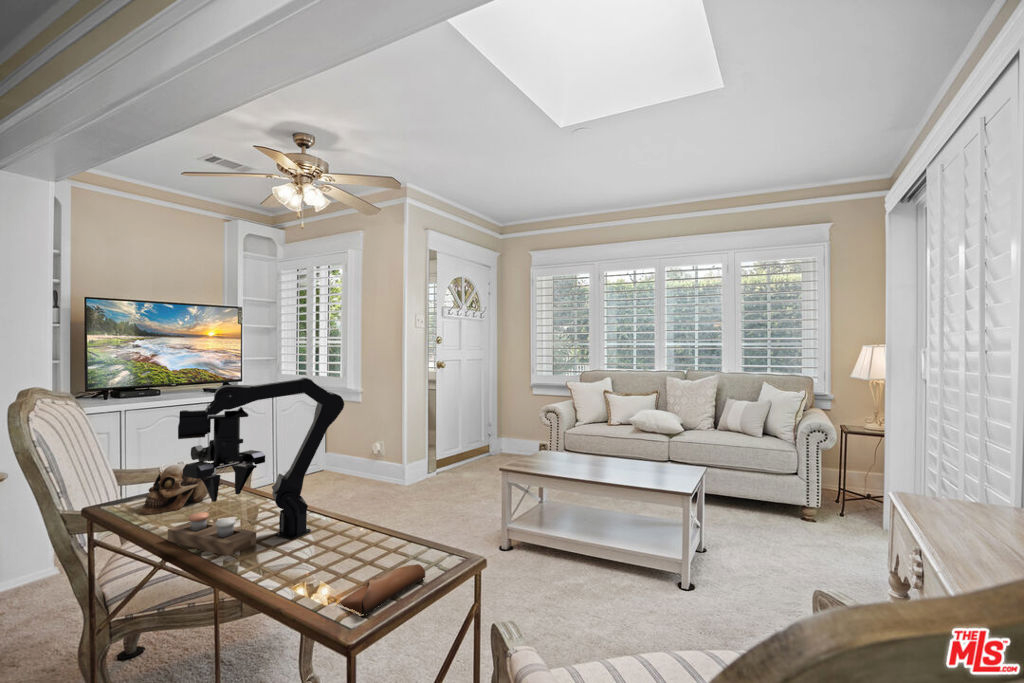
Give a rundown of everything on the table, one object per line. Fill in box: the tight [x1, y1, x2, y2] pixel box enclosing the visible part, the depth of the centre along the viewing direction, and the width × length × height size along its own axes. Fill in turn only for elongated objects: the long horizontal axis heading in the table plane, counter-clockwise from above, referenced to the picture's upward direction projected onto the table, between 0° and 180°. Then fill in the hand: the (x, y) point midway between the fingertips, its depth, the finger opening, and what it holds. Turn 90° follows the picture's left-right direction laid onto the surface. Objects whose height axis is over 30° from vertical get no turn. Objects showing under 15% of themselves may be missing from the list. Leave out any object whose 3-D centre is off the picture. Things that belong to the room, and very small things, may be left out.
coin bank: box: [138, 463, 209, 515], centre depth 158 cm, size 16×17×13 cm
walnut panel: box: [167, 520, 257, 557], centre depth 128 cm, size 22×8×3 cm, turn 67°
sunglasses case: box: [338, 563, 426, 616], centre depth 103 cm, size 18×7×7 cm
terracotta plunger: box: [188, 511, 210, 532], centre depth 130 cm, size 4×4×4 cm
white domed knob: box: [214, 517, 237, 538], centre depth 126 cm, size 4×4×4 cm
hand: (226, 497), depth 126 cm, fingers open, 6 cm apart
